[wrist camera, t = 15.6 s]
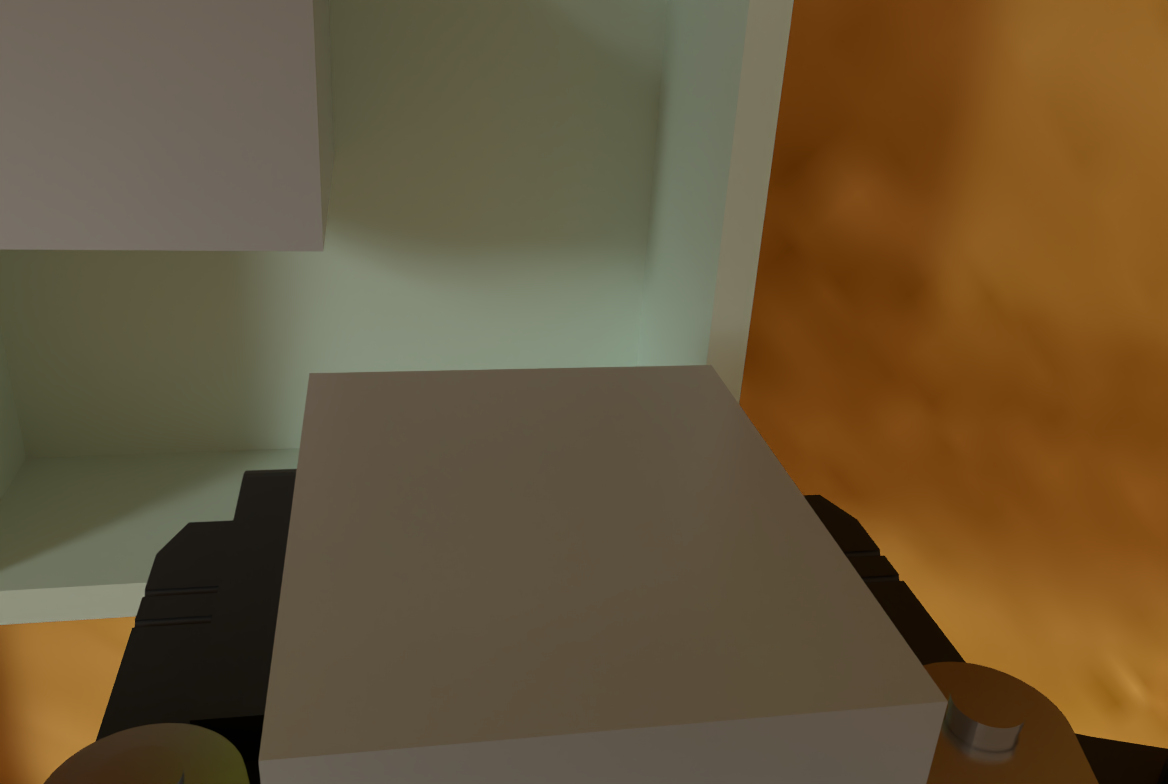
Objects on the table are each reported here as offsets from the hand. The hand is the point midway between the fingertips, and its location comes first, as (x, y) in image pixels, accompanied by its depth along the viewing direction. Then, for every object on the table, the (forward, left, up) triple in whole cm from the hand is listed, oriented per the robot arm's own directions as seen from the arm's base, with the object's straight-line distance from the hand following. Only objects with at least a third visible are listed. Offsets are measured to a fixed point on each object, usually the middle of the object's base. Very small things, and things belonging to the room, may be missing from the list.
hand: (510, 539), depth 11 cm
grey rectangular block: (0, 0, 0) cm, 0 cm away
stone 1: (-4, -4, -8) cm, 10 cm away
